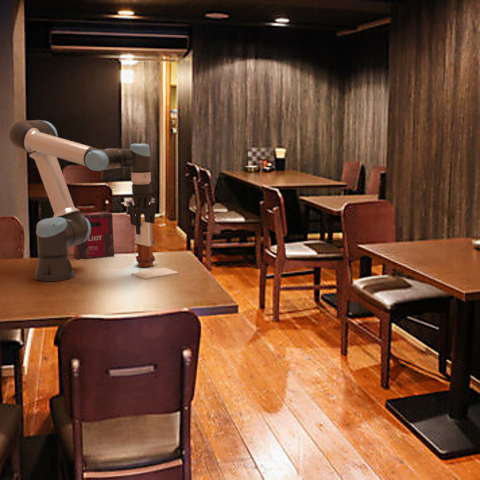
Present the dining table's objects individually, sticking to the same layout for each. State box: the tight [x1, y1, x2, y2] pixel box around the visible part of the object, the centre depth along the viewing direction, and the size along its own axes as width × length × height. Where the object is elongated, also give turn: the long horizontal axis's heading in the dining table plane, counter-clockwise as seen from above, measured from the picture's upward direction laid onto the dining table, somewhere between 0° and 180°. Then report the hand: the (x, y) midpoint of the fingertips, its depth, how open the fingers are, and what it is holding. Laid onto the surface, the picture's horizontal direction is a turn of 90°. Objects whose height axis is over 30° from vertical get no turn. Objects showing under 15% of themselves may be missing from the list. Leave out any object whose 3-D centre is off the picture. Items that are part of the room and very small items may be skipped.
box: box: [73, 211, 115, 261], centre depth 305 cm, size 16×9×20 cm, turn 115°
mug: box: [135, 238, 156, 268], centre depth 287 cm, size 15×8×15 cm, turn 14°
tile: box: [134, 220, 154, 246], centre depth 264 cm, size 10×2×9 cm, turn 38°
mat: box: [130, 267, 180, 281], centre depth 271 cm, size 11×16×1 cm
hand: (143, 241), depth 265 cm, fingers closed on tile, 2 cm apart
